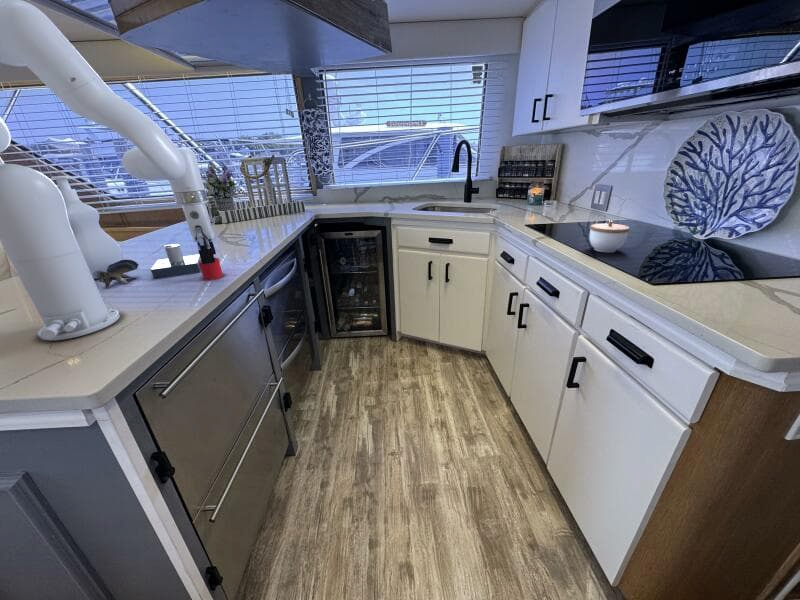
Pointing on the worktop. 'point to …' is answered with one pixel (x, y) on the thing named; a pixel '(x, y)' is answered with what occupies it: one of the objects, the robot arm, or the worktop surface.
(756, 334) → the worktop surface
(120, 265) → the squirrel figurine
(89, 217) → the soap bottle
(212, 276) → the strawberry toy
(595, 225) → the trinket box
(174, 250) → the knob
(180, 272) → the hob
